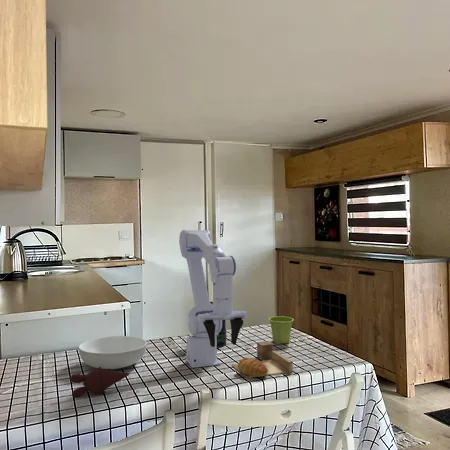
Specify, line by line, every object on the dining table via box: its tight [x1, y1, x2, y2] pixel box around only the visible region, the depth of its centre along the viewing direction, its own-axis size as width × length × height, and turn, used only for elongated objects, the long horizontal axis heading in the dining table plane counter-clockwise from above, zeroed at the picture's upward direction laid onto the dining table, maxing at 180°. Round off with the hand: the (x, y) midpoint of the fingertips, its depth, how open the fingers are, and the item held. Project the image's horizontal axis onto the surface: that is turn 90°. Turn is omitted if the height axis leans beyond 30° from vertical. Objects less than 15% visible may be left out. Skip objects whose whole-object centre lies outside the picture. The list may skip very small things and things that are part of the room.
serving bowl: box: [78, 335, 148, 371], centre depth 138 cm, size 21×21×7 cm
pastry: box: [237, 356, 268, 378], centre depth 128 cm, size 9×7×4 cm
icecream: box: [69, 367, 130, 398], centre depth 115 cm, size 7×7×15 cm
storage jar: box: [209, 301, 227, 348], centre depth 161 cm, size 10×10×15 cm
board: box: [231, 350, 294, 379], centre depth 133 cm, size 15×12×3 cm
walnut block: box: [256, 340, 274, 361], centre depth 144 cm, size 4×4×5 cm
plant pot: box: [268, 315, 295, 345], centre depth 164 cm, size 9×9×9 cm
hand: (223, 345), depth 126 cm, fingers open, 6 cm apart
